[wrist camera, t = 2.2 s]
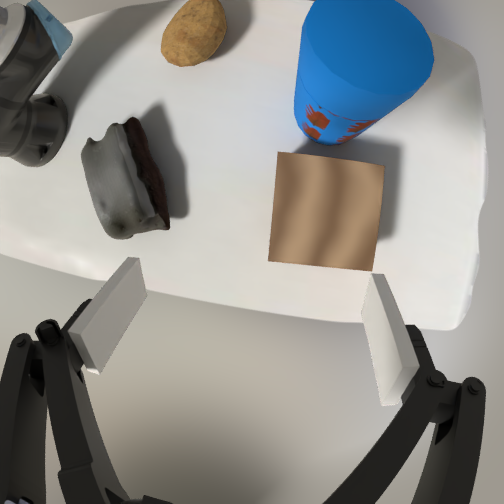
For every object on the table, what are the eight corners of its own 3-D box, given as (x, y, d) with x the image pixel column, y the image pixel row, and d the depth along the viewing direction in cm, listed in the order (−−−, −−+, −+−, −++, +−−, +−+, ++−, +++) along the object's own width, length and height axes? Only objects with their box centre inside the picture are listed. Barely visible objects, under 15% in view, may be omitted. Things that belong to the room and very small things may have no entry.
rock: (186, 222, 47) (168, 228, 39) (130, 247, 48) (105, 256, 41) (149, 120, 44) (126, 108, 36) (97, 150, 46) (70, 146, 38)
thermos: (371, 138, 41) (455, 91, 17) (306, 154, 43) (334, 109, 18) (348, 75, 39) (399, -15, 15) (283, 89, 41) (283, -6, 17)
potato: (242, 14, 39) (236, -11, 31) (214, 81, 42) (201, 62, 34) (190, 8, 39) (177, -15, 31) (161, 72, 42) (141, 54, 34)
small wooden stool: (270, 250, 46) (268, 261, 39) (278, 157, 43) (277, 151, 36) (359, 259, 45) (372, 271, 38) (369, 169, 42) (384, 165, 35)
